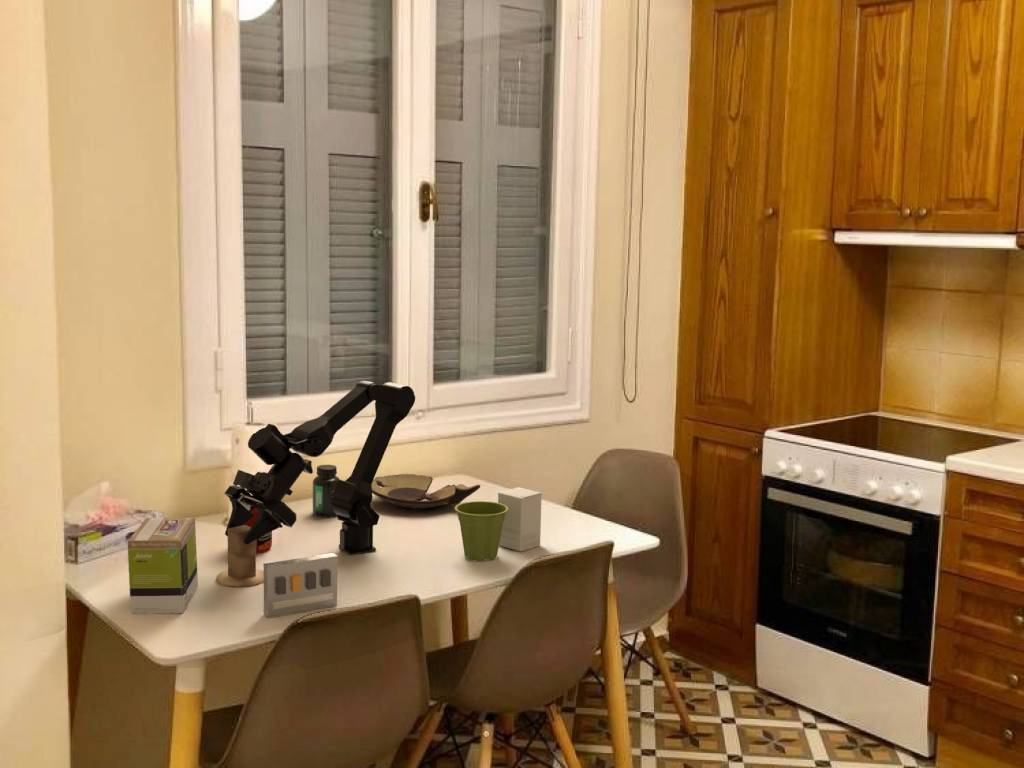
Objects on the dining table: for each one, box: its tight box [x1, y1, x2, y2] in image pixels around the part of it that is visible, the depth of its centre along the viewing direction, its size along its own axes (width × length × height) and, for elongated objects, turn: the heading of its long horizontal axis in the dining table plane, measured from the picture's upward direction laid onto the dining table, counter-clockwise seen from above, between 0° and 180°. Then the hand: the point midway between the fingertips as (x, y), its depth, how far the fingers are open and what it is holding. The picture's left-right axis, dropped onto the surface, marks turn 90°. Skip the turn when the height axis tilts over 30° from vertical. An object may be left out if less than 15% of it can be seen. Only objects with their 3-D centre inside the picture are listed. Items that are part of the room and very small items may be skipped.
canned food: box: [244, 503, 273, 554], centre depth 250 cm, size 8×8×11 cm
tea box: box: [127, 516, 199, 615], centre depth 216 cm, size 15×10×15 cm, turn 5°
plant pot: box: [454, 500, 508, 562], centre depth 249 cm, size 12×12×11 cm
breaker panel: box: [263, 552, 338, 619], centre depth 213 cm, size 14×3×10 cm, turn 122°
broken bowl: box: [372, 473, 481, 509], centre depth 287 cm, size 22×30×8 cm
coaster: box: [216, 568, 264, 588], centre depth 231 cm, size 10×10×1 cm
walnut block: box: [227, 525, 257, 580], centre depth 230 cm, size 4×4×10 cm
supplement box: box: [497, 486, 543, 552], centre depth 257 cm, size 7×7×13 cm
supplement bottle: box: [312, 464, 341, 518], centre depth 278 cm, size 7×7×12 cm
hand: (235, 539), depth 228 cm, fingers open, 6 cm apart
